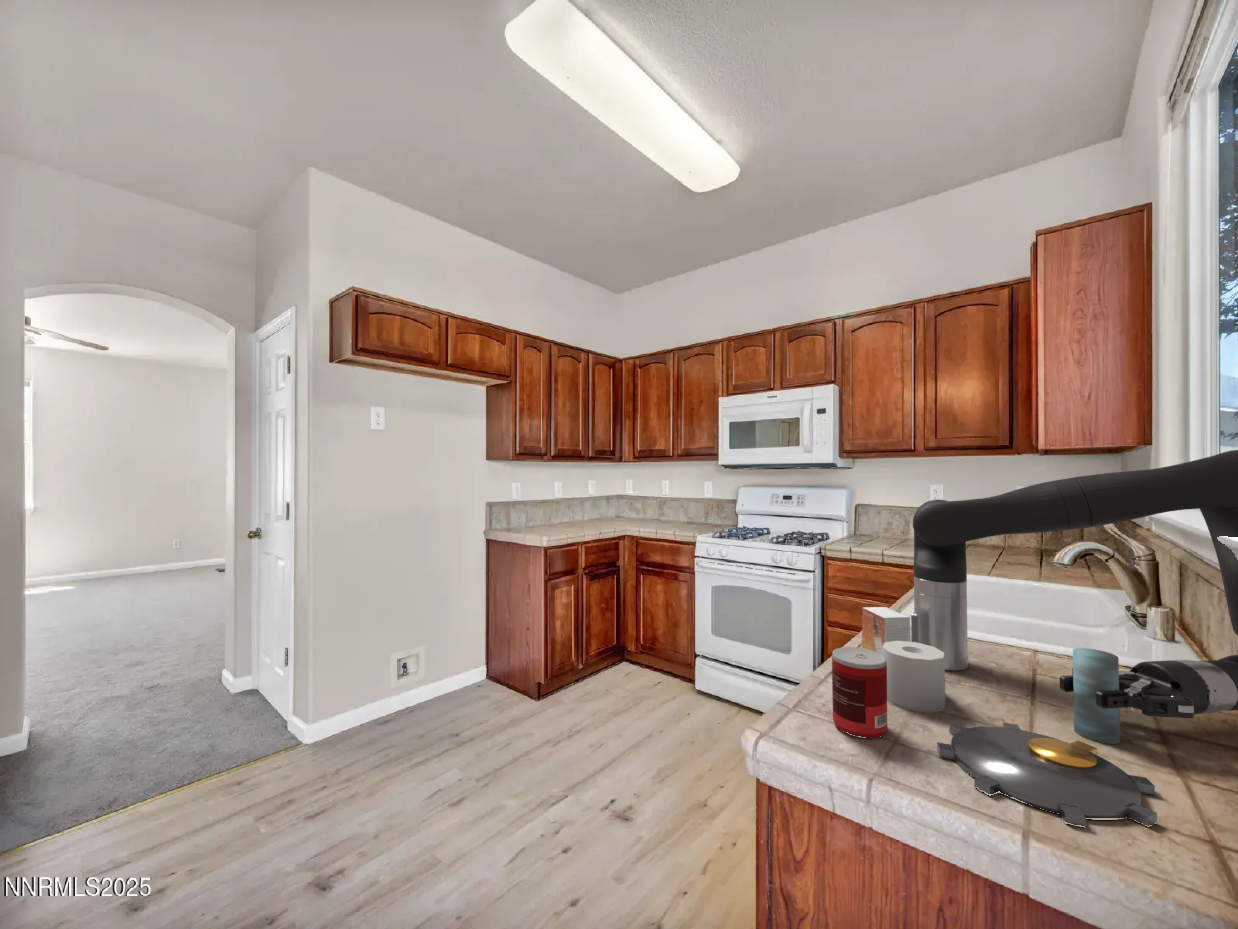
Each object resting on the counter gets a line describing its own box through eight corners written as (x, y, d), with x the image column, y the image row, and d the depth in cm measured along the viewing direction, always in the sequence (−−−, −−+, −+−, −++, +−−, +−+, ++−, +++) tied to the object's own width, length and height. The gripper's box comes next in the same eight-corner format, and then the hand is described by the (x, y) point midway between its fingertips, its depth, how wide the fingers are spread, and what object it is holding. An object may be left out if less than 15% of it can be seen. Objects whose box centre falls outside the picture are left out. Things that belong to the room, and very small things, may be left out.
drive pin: (1072, 735, 77) (1071, 654, 77) (1075, 723, 80) (1074, 645, 80) (1119, 747, 73) (1118, 662, 73) (1120, 734, 77) (1118, 653, 77)
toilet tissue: (946, 688, 93) (945, 641, 93) (943, 718, 82) (942, 663, 82) (890, 677, 98) (889, 632, 98) (879, 703, 87) (879, 652, 87)
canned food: (883, 719, 82) (882, 649, 82) (891, 744, 74) (891, 667, 74) (831, 711, 84) (830, 644, 84) (834, 735, 77) (833, 661, 77)
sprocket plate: (922, 772, 67) (922, 760, 67) (961, 716, 83) (960, 706, 83) (1159, 858, 52) (1159, 843, 52) (1152, 770, 68) (1152, 758, 68)
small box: (861, 656, 109) (861, 606, 109) (886, 655, 110) (886, 606, 110) (884, 671, 101) (883, 617, 101) (911, 670, 102) (910, 616, 102)
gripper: (1130, 646, 85) (1035, 649, 84) (1243, 681, 71) (1131, 686, 69) (1131, 691, 85) (1036, 696, 83) (1244, 736, 71) (1132, 742, 69)
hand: (1080, 691), depth 76 cm, fingers closed on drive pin, 5 cm apart
